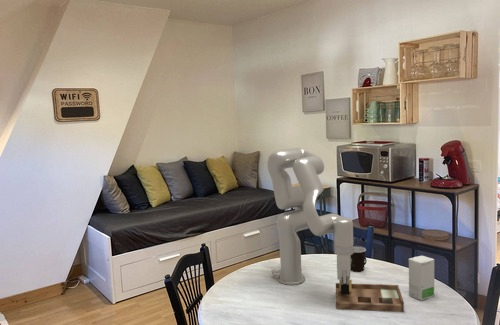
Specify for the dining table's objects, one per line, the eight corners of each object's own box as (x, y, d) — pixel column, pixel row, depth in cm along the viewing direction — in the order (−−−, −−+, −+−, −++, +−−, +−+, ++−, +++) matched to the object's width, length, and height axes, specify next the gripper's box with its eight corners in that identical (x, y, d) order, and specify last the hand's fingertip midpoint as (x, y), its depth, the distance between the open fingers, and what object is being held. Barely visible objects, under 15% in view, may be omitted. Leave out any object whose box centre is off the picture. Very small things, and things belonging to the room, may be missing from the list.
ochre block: (339, 290, 170) (339, 279, 171) (340, 290, 175) (340, 278, 176) (350, 291, 169) (350, 280, 170) (351, 290, 173) (351, 279, 174)
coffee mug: (347, 266, 207) (346, 246, 205) (365, 266, 205) (364, 246, 204) (349, 275, 195) (348, 254, 194) (368, 275, 194) (368, 254, 193)
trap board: (335, 309, 163) (335, 298, 163) (335, 292, 178) (335, 283, 178) (403, 312, 158) (403, 301, 158) (398, 294, 173) (397, 285, 172)
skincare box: (420, 301, 166) (420, 263, 164) (407, 295, 172) (407, 258, 170) (435, 296, 170) (435, 259, 168) (421, 290, 176) (421, 254, 174)
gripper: (334, 242, 174) (335, 285, 177) (333, 255, 160) (335, 301, 162) (352, 243, 173) (354, 286, 175) (354, 255, 158) (355, 302, 161)
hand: (345, 293), depth 169 cm, fingers closed
